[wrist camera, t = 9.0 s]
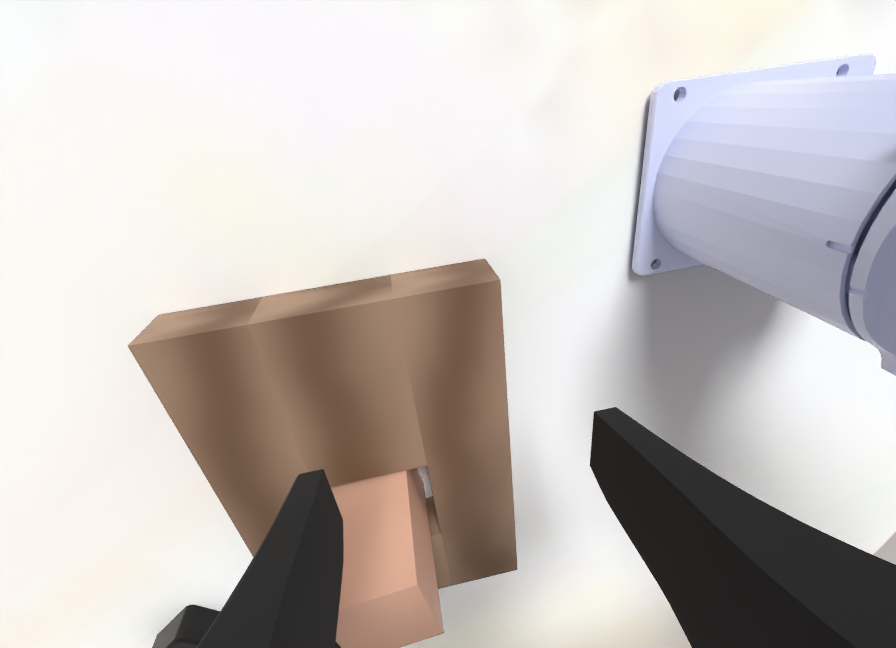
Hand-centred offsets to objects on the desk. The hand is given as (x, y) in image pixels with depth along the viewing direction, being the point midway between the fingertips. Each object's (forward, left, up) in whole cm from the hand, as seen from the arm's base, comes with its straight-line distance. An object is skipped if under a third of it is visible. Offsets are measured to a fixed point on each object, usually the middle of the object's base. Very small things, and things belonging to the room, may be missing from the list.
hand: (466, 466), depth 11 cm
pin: (+4, +10, -9) cm, 14 cm away
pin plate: (+4, +8, -9) cm, 13 cm away
